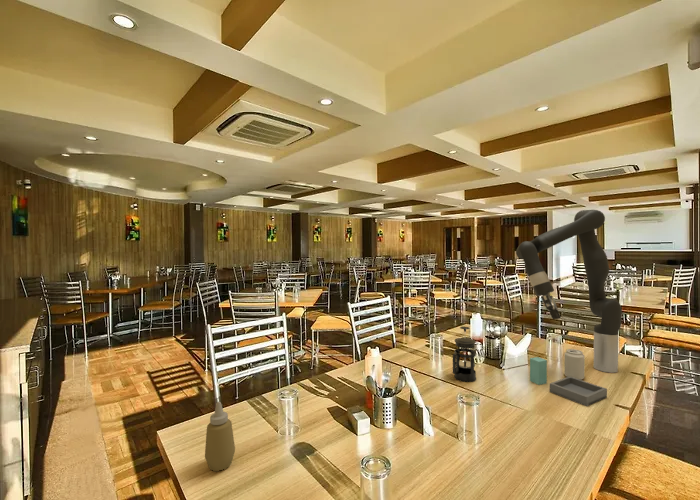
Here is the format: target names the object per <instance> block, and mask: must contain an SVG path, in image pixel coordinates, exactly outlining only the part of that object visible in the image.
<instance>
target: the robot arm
mask: <svg viewBox="0 0 700 500" xmlns="http://www.w3.org/2000/svg"><path fill="white" fill-rule="evenodd" d="M605 221H606V217H605V214H604V213H603V212H602V211H600V210H598V209H584V210H583V209H582V210H580V211H578V212H577V213H575V216H574V219H573V221H572V222H570V223H568V224H564V225H562V226H558V227H555V228H553V229H550V230H548V231H545V232H544V233H541V234H539V235H538V236H536V237H535V238H534V239H532V240H530V241H527V240H525V241H522V242H521V243H520V244H519V245H518V247H517V248H516V250H515V254H516V257H518V258H519V259H520V260H523V262H524V270H525V272H526V274H527V277H528V280H529V283H530V285H531V286H532V289H533V291H534V293H535V296H537V297H540V296H541V299H542V302H543V304H544V306H545V309H546V310H547V311H548V312H549V313H550V316H551V319H552V320H558V319H561V318H562V317H561V314H560V312H559V310H558V306H557V303H556V301H555V299H554V297H553V296H552V295H551V293H553V292H554V291H555V289H554V287H553V285H552V282H551V281H550V278H549V276H548V275H547V273H546V271H545V269H544V267H543V266H542V263H541V259H540V256H539V253H541V252H543V251H545V250H548V249H550V248H553V247H554V246H556V245H558V244H560V243H562V242H564V241H566V240H568V239H569V240H570V239H571V238H574V237H576V236H578V241H579V244H580V248H581V255H582V261H583V267H584V271H585V275H586V282H587V288H588V300H589V301H588V302H589V303H588V304H589V309H590V312H591V313H592V314H593V315H595V316H596V317H599V318H601V320H600V321H601V322H600V323H599V324H595V325H594V326H593V369H595V370H597V371H600V372H604V373H612V374H613V373H618V371H619V333H620V329H621V328H622V316H623V315H622V314H623V313H622V312H623V311H622V309H623V308H622V305H621V304H620V302H619V301H617V300H615V299H612V298H607V295H606V291H605V284H606V281H607V279H608V277H609V274H610V273H609V272H610V267H609V265H610V264H609V259H608V256H607V254H606V252H605V250H604V248H603V247H602V245H601V244H600V243H599V241H598V239H597V234H596V230H597V229H599V228H601V227H602V226H603V225H604V224H605Z"/></svg>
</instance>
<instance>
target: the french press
mask: <svg viewBox="0 0 700 500" xmlns="http://www.w3.org/2000/svg"><path fill="white" fill-rule="evenodd" d="M459 329H461V330H463V332H464V333H466V332H467V330H470V329H471V328H470V327H469V326H466V325H465V326H460V327H459ZM454 342H455V346H456V347H458V348H455V349H454V353H452V374H454V375H453V377H454V379H455V380H456V381H458V382H461V383H473V382H476V381H477V374H476V373H477V372H476V370H475V367H476V363H475V357H476V355H477V353H476V350H473V348H475V344H476V342H477V341H476V340H475V339H473V338H468V337H457V338H455V339H454ZM461 352H465V353H467V352H468V353H470V354H462V353H461ZM460 358H464V360H461V359H460ZM466 359H470V361H469V360H466Z"/></svg>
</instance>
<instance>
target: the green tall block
mask: <svg viewBox="0 0 700 500" xmlns="http://www.w3.org/2000/svg"><path fill="white" fill-rule="evenodd" d="M547 372H548V360H547V359H544V358H542V357H539V356H534V357H530V358H529V381H530V382H532V383H534V384H535V385H538V386H540V385H545V384H547V383H548V382H547V381H548V380H547V379H548V373H547Z"/></svg>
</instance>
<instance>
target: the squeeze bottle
mask: <svg viewBox="0 0 700 500" xmlns="http://www.w3.org/2000/svg"><path fill="white" fill-rule="evenodd" d="M223 409H224V408H223V404H222V403H221V401H217V402H216V403H215V409H214V413H212V414H211V415H210V416H209V417H210V418H209V419H210V420H209V423H208V424H207V426H206V435H205V448H204V449H205V450H204V459H205V462H206V463H207V465H208V468H209V469H210V471H212V470H213V471H212V472H220V471H219V470H222V471H224V470H227V469H228V468H229V467H230V466H231V464H232V462H233V459H234V456H235V451H236V444H235V439H234V438H235V437H234V431H233V425H232V424H233V423H232V421H231V420H230V418H229V415H228V414H229V413H228V411H227V412H226V411H224V410H223ZM227 467H228V468H227ZM223 469H224V470H223Z"/></svg>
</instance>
